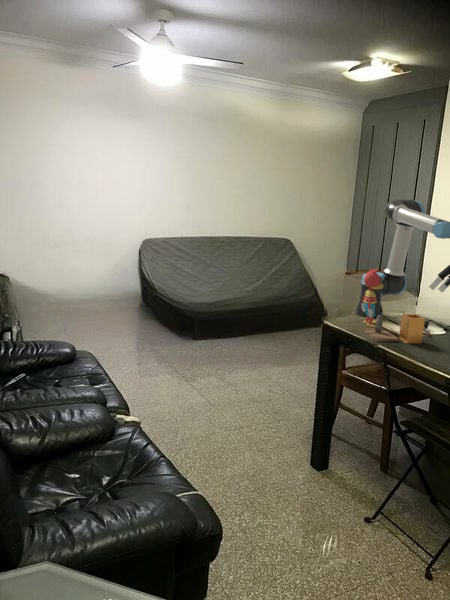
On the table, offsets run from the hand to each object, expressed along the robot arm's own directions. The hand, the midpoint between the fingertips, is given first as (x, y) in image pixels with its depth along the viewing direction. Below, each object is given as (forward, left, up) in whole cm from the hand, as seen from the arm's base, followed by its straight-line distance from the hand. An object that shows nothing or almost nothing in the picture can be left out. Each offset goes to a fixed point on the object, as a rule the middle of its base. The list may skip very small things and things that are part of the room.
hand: (435, 289), depth 225 cm
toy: (-26, -18, -25) cm, 40 cm away
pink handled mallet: (-15, +4, -25) cm, 30 cm away
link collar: (0, -9, -25) cm, 27 cm away
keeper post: (-6, -21, -25) cm, 33 cm away
